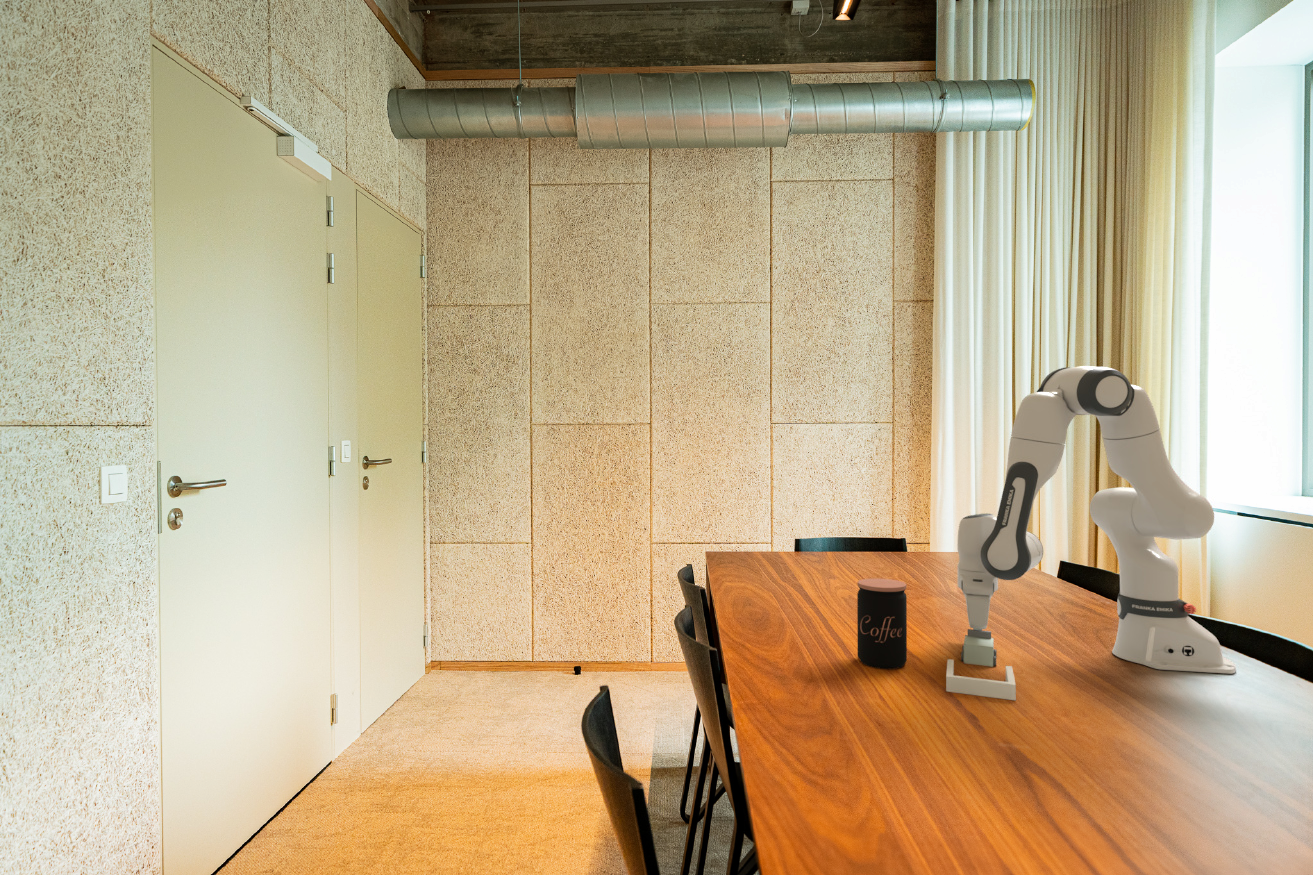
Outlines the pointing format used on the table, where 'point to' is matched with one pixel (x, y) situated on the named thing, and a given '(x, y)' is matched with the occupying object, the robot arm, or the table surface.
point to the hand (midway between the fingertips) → (977, 638)
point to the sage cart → (979, 648)
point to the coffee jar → (882, 623)
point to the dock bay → (981, 684)
